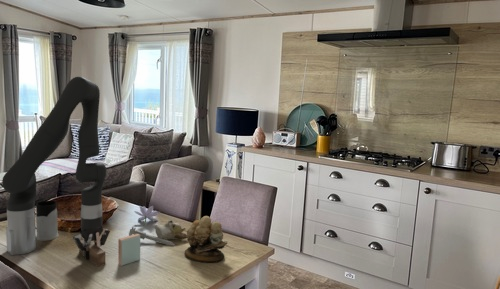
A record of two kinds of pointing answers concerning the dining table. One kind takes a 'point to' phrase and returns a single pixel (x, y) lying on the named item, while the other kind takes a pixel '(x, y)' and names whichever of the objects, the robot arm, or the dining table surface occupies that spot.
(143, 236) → the caliper
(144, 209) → the water lily
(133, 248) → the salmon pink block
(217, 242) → the owl figurine
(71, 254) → the dining table surface
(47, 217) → the glass holder
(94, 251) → the walnut bar
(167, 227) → the ceramic sculpture
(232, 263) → the dining table surface
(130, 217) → the dining table surface
